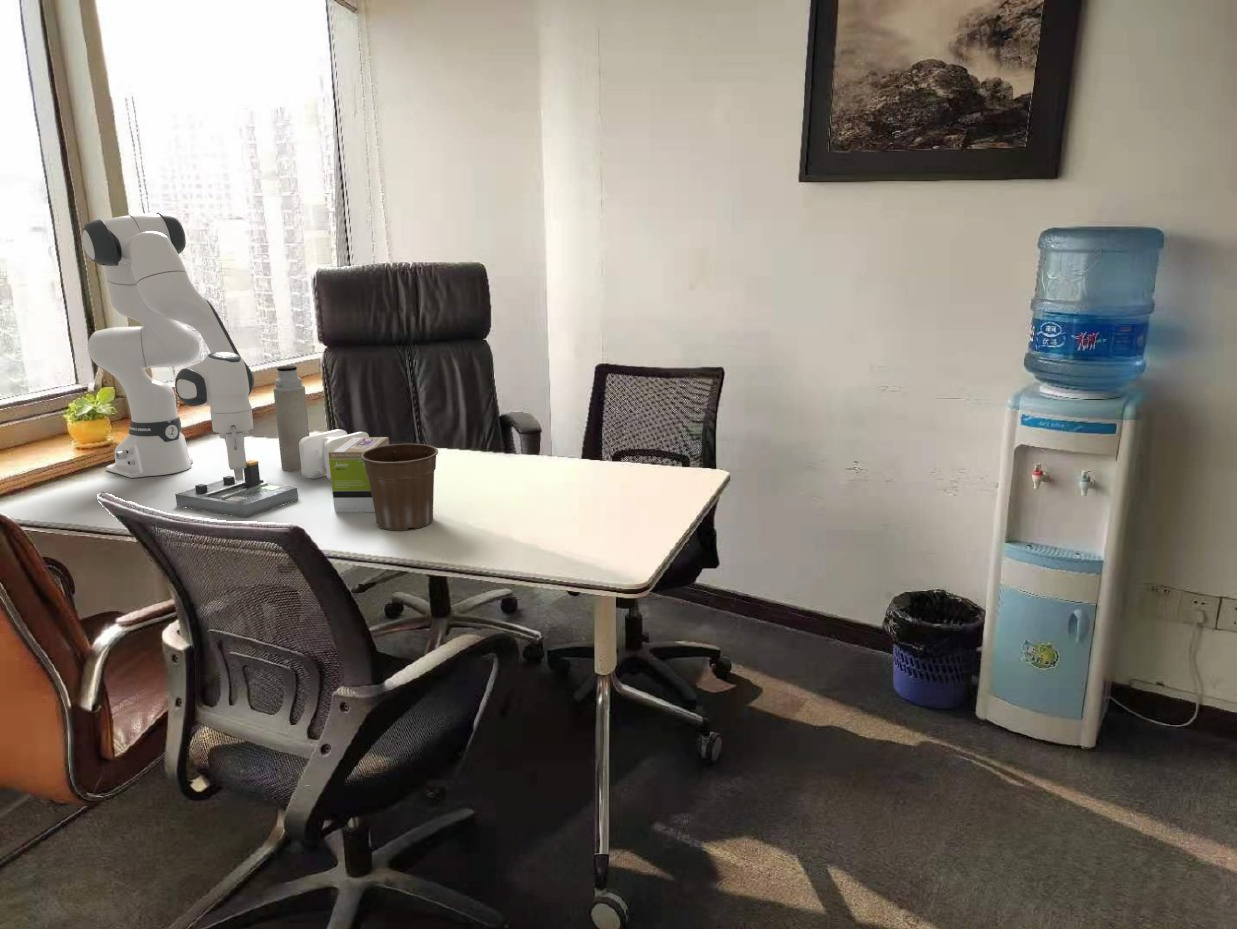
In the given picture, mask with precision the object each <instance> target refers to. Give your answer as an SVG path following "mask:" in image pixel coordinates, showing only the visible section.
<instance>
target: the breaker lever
mask: <svg viewBox="0 0 1237 929" xmlns="http://www.w3.org/2000/svg"><path fill="white" fill-rule="evenodd" d="M243 478H244V480H245V482H244V483H242V485H243V486H249V487H251V486H255V485H258V484H261V483H265V482H264V479H261V476H260V466H259V460H253V459H249V460H246V468H244V469H243Z"/></svg>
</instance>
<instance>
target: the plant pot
mask: <svg viewBox="0 0 1237 929" xmlns="http://www.w3.org/2000/svg"><path fill="white" fill-rule="evenodd" d="M438 454H439V449H438V448H436V447H435V446H433V445H429V444H423V443H394V444H393V443H392V444H389V445H385V446H379V447H375V448H372V449H369V450H367V451H365V452H363V453H362V454H361V458H362V460H364V464H365V469H366V473H367V475H368V477H369V483H370V488H371V494H372V499H373V504H374V510H375V512H374V516H375V523H376V524H377V526H378V528H380V529H383V530H386V531H392V532H393V531H394V532H395V531H397V532H398V531H399V532H402V531H407V530H408V529H415V530H416V529H420V528H423V527H427V526H428V525H429V524H431V523H432V522H433V520H434V495H435V494H434V492H435V491H434V490H435V488H434V487H435V486H434V485H435V470H436V467H437V455H438Z"/></svg>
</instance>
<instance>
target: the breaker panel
mask: <svg viewBox="0 0 1237 929" xmlns="http://www.w3.org/2000/svg"><path fill="white" fill-rule="evenodd" d="M244 482H245V478H243V480H240V481H237V480H235V476H234V475H233V476H232V475H227V476H223V477H222V479H221V480H218V481H214V482H211V483H208V484H203V483H198V484H196V485H194V488H191V489H188V490H184V491H182V492H178V493H175V494H174V495H175V502H176V507H179V508H183V507H187V508H186V509H189V508H192V509H191V510H195V511H201V510H202V511H203V512H208V513H211V514H212V513H214V514H218V515H224V514H227V515H226V516H230V515H232V516H231V517H236V518H243V519H247V518H250V517H252V516H256V515H259V514H261V513H263V512H266V511H269V510H272V508H273V509H275V508H278V507H280V506H283V504H284V505H287V504H289V503H292V502H295V501H298V500H299V492H298V487H297V486H290V485H283V484H278V483H277V484H276V483H271V482H264V483H261V484H258V485H255V486H251V487H249V486H243V485H242V483H244ZM291 501H292V502H291ZM288 502H289V503H288ZM286 503H287V504H286ZM274 507H275V508H274Z"/></svg>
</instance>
